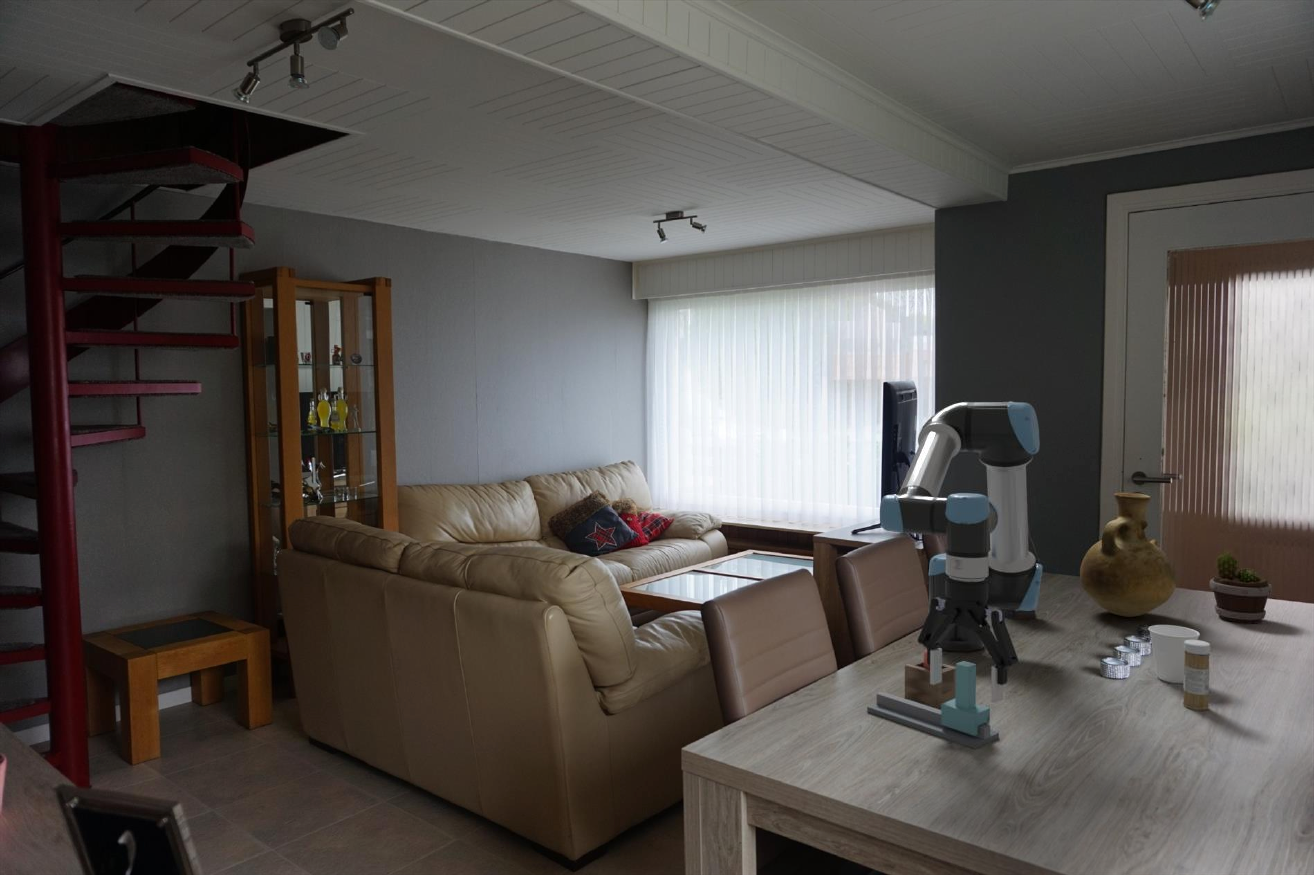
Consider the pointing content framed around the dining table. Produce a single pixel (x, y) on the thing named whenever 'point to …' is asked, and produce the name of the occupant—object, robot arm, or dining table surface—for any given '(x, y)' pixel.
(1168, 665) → the cup
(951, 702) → the carriage
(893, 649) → the dining table surface
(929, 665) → the cylinder
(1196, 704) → the sprinkles bottle
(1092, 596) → the vase
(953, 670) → the open wooden box
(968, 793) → the dining table surface
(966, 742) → the rail bed
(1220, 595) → the flowerpot
